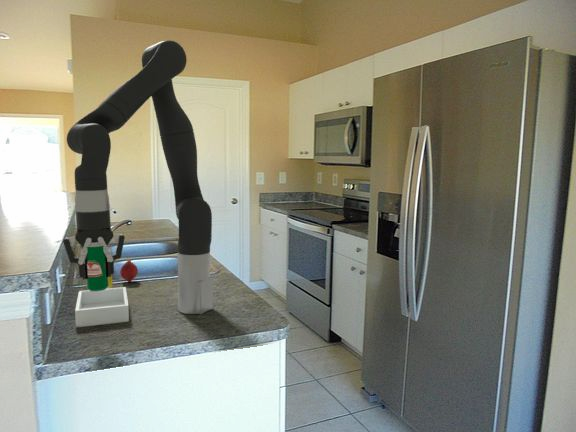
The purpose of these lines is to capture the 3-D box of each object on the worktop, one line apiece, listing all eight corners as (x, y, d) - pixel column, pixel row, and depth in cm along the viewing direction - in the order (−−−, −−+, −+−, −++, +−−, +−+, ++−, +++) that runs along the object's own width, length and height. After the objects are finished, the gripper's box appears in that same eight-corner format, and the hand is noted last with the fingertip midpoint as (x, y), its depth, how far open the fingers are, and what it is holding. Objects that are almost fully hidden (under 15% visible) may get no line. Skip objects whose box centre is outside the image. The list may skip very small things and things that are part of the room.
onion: (132, 284, 155) (131, 262, 154) (117, 283, 156) (116, 261, 155) (140, 280, 161) (140, 258, 160) (126, 279, 162) (125, 257, 161)
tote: (126, 301, 138) (125, 287, 137) (128, 321, 121) (128, 305, 120) (79, 305, 133) (79, 291, 132) (75, 327, 116) (75, 310, 116)
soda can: (82, 291, 108) (79, 242, 106) (94, 285, 113) (91, 238, 111) (101, 292, 107) (98, 243, 105) (112, 286, 112) (110, 239, 110)
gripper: (123, 205, 113) (127, 270, 116) (60, 208, 108) (65, 276, 110) (125, 209, 106) (129, 278, 109) (58, 212, 101) (63, 285, 103)
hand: (97, 277), depth 109 cm, fingers closed on soda can, 5 cm apart
